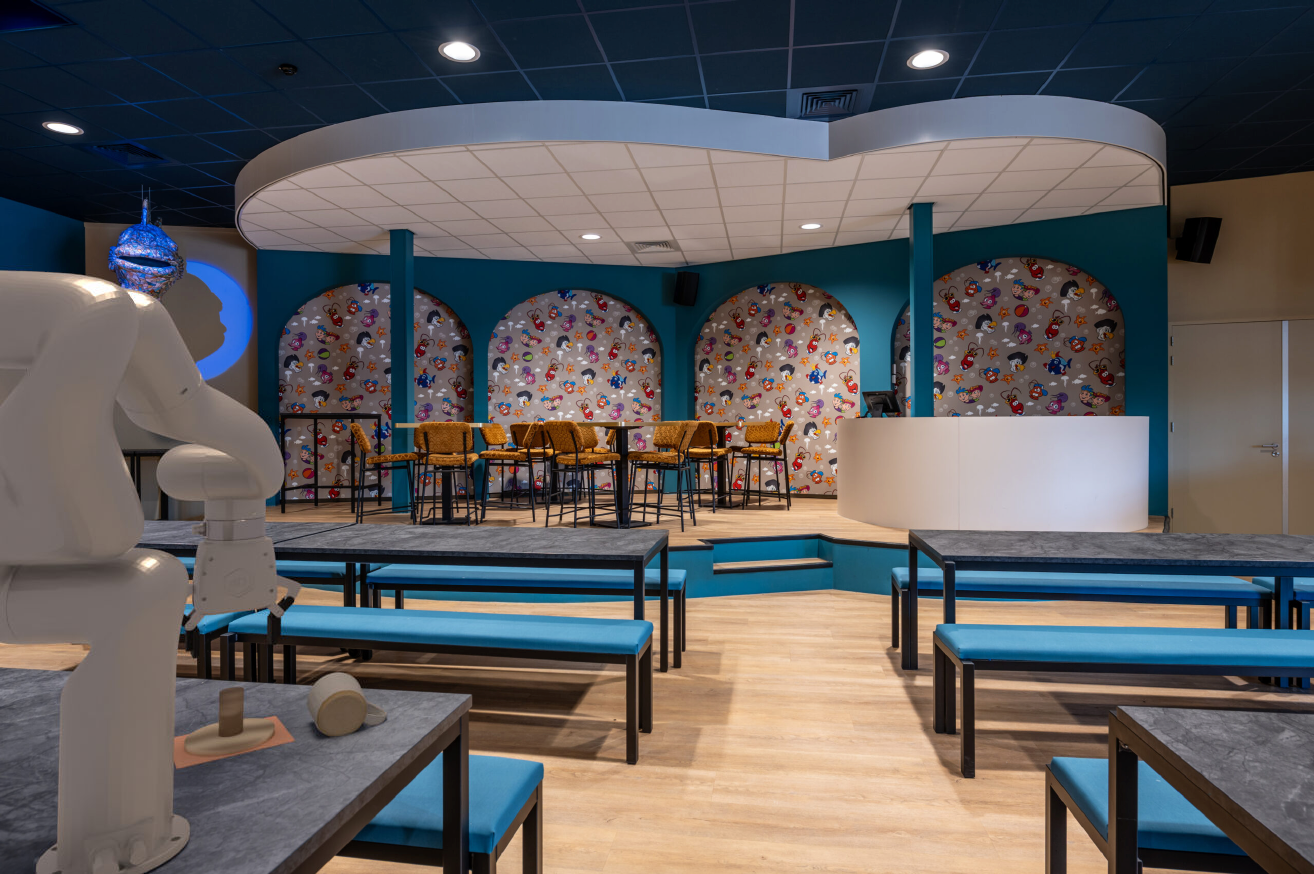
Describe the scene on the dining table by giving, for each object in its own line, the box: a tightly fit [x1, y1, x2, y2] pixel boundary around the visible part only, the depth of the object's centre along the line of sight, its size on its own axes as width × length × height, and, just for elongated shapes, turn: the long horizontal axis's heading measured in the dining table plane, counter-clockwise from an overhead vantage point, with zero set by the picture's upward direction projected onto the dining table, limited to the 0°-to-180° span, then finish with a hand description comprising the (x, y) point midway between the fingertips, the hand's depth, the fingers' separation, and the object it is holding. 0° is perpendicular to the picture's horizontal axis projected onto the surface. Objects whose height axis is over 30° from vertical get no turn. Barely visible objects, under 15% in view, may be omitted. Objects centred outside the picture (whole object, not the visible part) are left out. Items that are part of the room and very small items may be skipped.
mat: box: [174, 715, 296, 770], centre depth 100 cm, size 12×14×1 cm
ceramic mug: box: [306, 672, 387, 738], centre depth 106 cm, size 11×8×8 cm
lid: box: [184, 686, 275, 757], centre depth 100 cm, size 11×11×7 cm
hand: (234, 649), depth 101 cm, fingers open, 9 cm apart
